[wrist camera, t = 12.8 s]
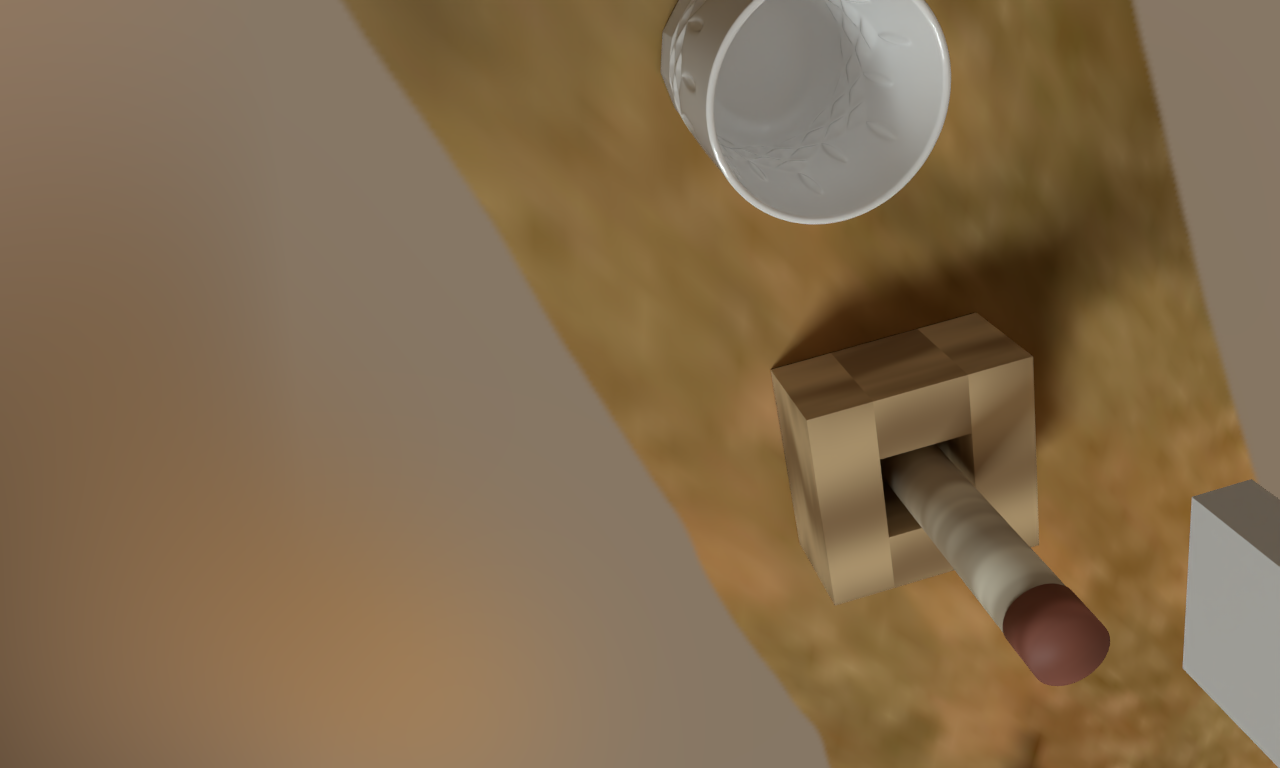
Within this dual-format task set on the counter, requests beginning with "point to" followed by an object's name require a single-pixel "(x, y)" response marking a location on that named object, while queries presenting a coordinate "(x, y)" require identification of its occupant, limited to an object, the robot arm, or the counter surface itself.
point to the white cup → (810, 97)
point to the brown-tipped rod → (999, 568)
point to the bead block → (903, 445)
